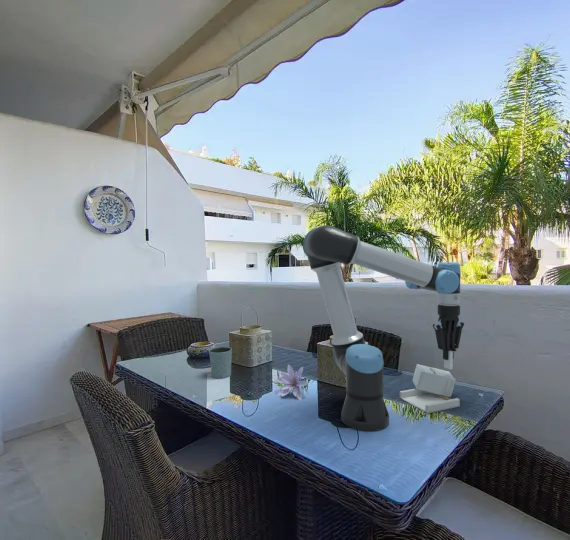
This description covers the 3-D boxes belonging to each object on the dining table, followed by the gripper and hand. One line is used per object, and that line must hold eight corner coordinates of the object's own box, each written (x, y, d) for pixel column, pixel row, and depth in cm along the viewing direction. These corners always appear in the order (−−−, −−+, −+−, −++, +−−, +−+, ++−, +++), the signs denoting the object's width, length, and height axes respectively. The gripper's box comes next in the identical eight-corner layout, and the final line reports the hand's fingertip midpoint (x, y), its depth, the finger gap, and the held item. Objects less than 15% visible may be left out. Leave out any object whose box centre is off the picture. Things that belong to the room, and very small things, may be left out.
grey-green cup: (234, 372, 170) (234, 346, 169) (229, 379, 160) (228, 352, 159) (213, 372, 171) (212, 346, 170) (206, 379, 161) (205, 352, 160)
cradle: (427, 413, 123) (427, 406, 123) (399, 398, 137) (399, 391, 136) (459, 406, 128) (459, 399, 128) (429, 392, 142) (429, 385, 142)
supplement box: (456, 379, 133) (421, 371, 134) (450, 398, 134) (416, 389, 135) (449, 370, 140) (416, 363, 141) (444, 388, 141) (411, 380, 142)
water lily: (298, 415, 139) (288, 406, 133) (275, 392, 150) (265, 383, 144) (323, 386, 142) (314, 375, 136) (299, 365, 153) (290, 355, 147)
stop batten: (455, 405, 129) (455, 402, 129) (430, 393, 140) (430, 390, 140) (457, 404, 130) (457, 401, 129) (432, 393, 141) (432, 390, 141)
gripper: (442, 306, 128) (442, 373, 129) (470, 304, 133) (469, 368, 134) (427, 304, 135) (426, 367, 136) (454, 302, 140) (453, 363, 141)
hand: (448, 368), depth 135 cm, fingers closed
